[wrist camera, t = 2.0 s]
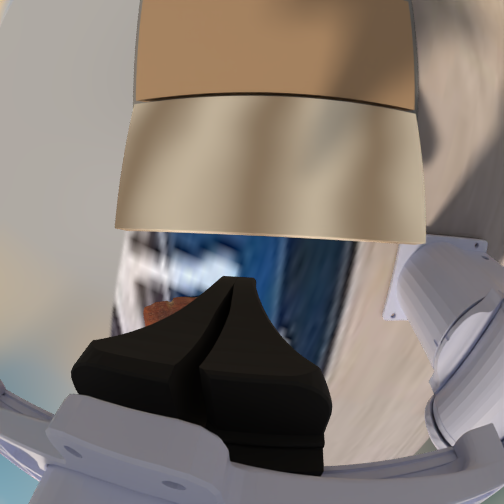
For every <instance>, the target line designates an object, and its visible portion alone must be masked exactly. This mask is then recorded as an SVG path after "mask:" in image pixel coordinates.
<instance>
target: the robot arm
mask: <svg viewBox="0 0 504 504" xmlns="http://www.w3.org/2000/svg"><path fill="white" fill-rule="evenodd" d="M476 243H477V245H476V246H475V244H476ZM487 247H488V242H487V241H486V240H483V239H474V238H464V237H454V236H444V235H433V234H426V243H425V244H417V245H410V244H399V247H398V251H397V256H396V261H395V265H394V270H393V274H392V278H391V282H390V287H389V290H388V294H387V298H386V302H385V306H384V309H383V313H382V317H383V319H384V320H408V321H409V323H410V324H411V326H412V328H413V330H414V332H415V334H416V336H417V337H418V339H419V341H420V343H421V345H422V347H423V349H424V351H425V353H426V355H427V357H428V359H429V361H430V363H431V365H432V367H433V369H434V373H433V375H432V377H431V378H430V380H429V383H430V385H431V388H432V390H433V392H434V395H433V396H432V397H431V398H430V399H429V401H428V402H427V405H426V408H425V423H426V427H427V430H428V433H429V436H430V438H431V440H432V442H433V444H434V445H435V447H436V448H437V449H438V450H435V451H431V452H427V453H423V454H418V455H413V456H408V457H403V458H398V459H392V460H385V461H378V462H371V463H362V464H353V465H340V466H324V463H323V448H324V444H325V441H324V432H325V429H326V427H327V424H328V422H329V419H330V416H331V412H332V401H331V396H330V393H329V389H328V386H327V384H326V381H325V378H324V376H323V374H322V371H321V369H320V368H319V367H318V366H316V365H315V364H313V363H312V362H310V361H309V360H307V359H306V358H304V357H303V356H301V355H300V354H299V353H298V352H296V351H295V350H294V349H293V348H292V347H291V346H290V345H289V344H288V343H287V342H286V341H285V340H284V339H283V338H282V336H281V335H280V334H279V333H278V331H277V330H276V329H275V327H274V326H273V324H272V323H271V321H270V320H269V318H268V316H267V314H266V312H265V311H264V309H263V306H262V304H261V302H260V299H259V297H258V293H257V290H256V280H255V279H254V278H247V277H231V276H222V277H221V278H220V279H219V280H218V281H216V282H215V283H214V284H213V285H212V286H211V287H210V288H208V289H207V290H206V291H205V292H204V293H202V294H201V295H200V296H199V297H197V298H196V299H195V300H193V301H192V302H190V303H189V304H188V305H186V306H185V307H183V308H182V309H180V310H179V311H177V312H175V313H173V314H172V315H170V316H168V317H166V318H164V319H162V320H160V321H158V322H155V323H153V324H151V325H148V326H146V327H144V328H141V329H138V330H135V331H132V332H129V333H125V334H122V335H118V336H114V337H109V338H104V339H99V340H93V341H92V342H91V343H90V344H89V346H88V347H87V348H86V350H85V351H84V352H83V354H82V355H81V356H80V358H79V359H78V360H77V362H76V363H75V364H74V366H73V368H72V370H71V378H72V381H73V384H74V386H75V388H76V390H77V392H78V393H79V394H69V395H68V396H67V398H66V399H65V400H64V401H63V403H62V404H61V406H60V407H59V409H58V411H57V412H56V414H55V415H54V414H52V413H50V412H48V411H46V410H43V409H41V408H39V407H37V406H35V405H33V404H31V403H29V402H28V401H26V400H24V399H22V398H20V397H18V396H17V395H15V394H13V393H11V392H10V391H8V390H6V388H5V386H4V384H3V383H2V381H1V380H0V454H2V455H3V456H4V457H6V458H7V459H8V460H10V461H11V462H12V463H14V464H15V465H16V466H18V467H19V468H21V469H22V470H23V471H25V472H26V473H27V474H29V475H30V476H32V477H33V478H35V479H36V480H38V481H39V484H38V486H37V488H36V490H35V492H34V494H33V496H32V498H31V500H30V502H29V504H480V503H481V502H483V501H484V500H486V499H487V498H489V497H490V496H491V495H493V494H494V493H496V492H497V491H498V490H500V489H501V488H502V487H503V486H504V267H503V266H502V265H501V264H499V263H498V262H497V261H496V260H495V259H493V258H492V257H491V256H490V255H488V254H487V253H486V251H487ZM392 314H394V315H393V316H391V315H392Z"/></svg>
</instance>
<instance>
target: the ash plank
mask: <svg viewBox="0 0 504 504" xmlns="http://www.w3.org/2000/svg"><path fill="white" fill-rule="evenodd" d="M115 228H117V229H122V230H126V231H155V232H184V233H210V234H234V235H256V236H276V237H296V238H314V239H332V240H349V241H365V242H381V243H396V244H410V245H417V244H425V243H426V210H425V189H424V175H423V164H422V154H421V146H420V138H419V131H418V125H417V119H416V114H414V113H409V112H404V111H400V110H394V109H389V108H384V107H378V106H372V105H366V104H359V103H352V102H344V101H335V100H326V99H315V98H301V97H283V96H216V97H197V98H184V99H173V100H164V101H155V102H147V103H140V104H134V108H133V112H132V117H131V122H130V126H129V131H128V136H127V142H126V147H125V153H124V158H123V164H122V171H121V178H120V186H119V193H118V201H117V211H116V221H115Z"/></svg>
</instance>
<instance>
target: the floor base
mask: <svg viewBox="0 0 504 504" xmlns="http://www.w3.org/2000/svg"><path fill="white" fill-rule="evenodd" d="M133 90H134V91H133V108H134V104H140V103H147V102H155V101H164V100H173V99H184V98H197V97H216V96H283V97H301V98H315V99H326V100H335V101H344V102H352V103H359V104H366V105H372V106H378V107H384V108H389V109H394V110H400V111H404V112H409V113H414V114H416V119H417V121H418V65H417V47H416V35H415V25H414V16H413V9H412V2H411V0H140V6H139V14H138V24H137V34H136V46H135V63H134V89H133Z"/></svg>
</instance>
